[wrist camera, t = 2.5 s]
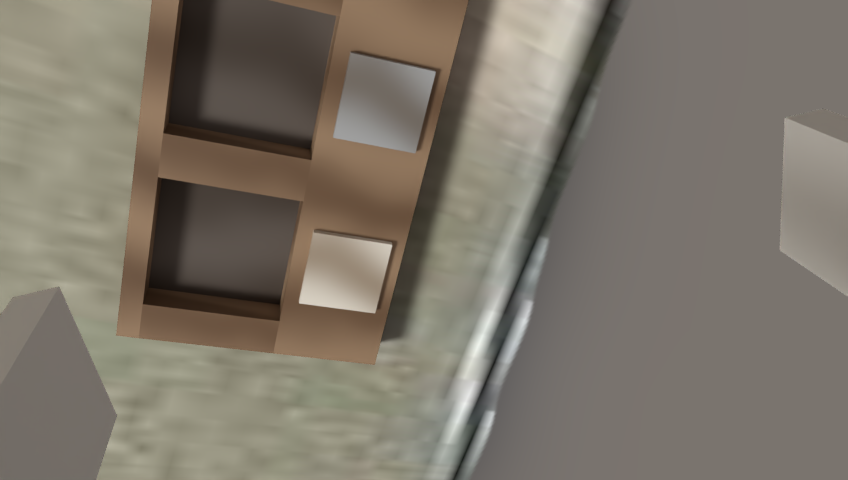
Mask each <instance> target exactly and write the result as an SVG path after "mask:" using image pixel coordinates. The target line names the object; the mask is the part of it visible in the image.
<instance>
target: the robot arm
mask: <svg viewBox="0 0 848 480" xmlns="http://www.w3.org/2000/svg"><path fill="white" fill-rule="evenodd" d="M780 251H781V252H783V253H785V254H786V255H787V256H789V257H790V258H792V259H793V260H795V261H796V262H798V263H799V264H801V265H802V266H804V267H805V268H806V269H808V270H809V271H811V272H812V273H814V274H815V275H817V276H819V277H820V278H822V279H823V280H824V281H826V282H827V283H829V284H830V285H832V286H833V287H834V288H836V289H837V290H839V291H840V292H842V293H843V294H845V295H846V296H848V117H845V116H843V115H840V114H837V113H834V112H832V111H829V110H826V109H819V110H815V111H811V112H807V113H803V114H798V115H794V116H789V117H785V125H784V152H783V178H782V204H781V231H780ZM116 417H117V414H116V412H115V410H114V408H113V405H112V403H111V401H110V399H109V396H108V394H107V392H106V390H105V388H104V385H103V383H102V381H101V379H100V376H99V374H98V372H97V370H96V368H95V365H94V363H93V361H92V359H91V356H90V354H89V352H88V350H87V347H86V345H85V343H84V341H83V339H82V336H81V334H80V332H79V330H78V327H77V325H76V323H75V321H74V319H73V316H72V314H71V312H70V310H69V307H68V305H67V303H66V301H65V298H64V296H63V294H62V292H61V290H60V287H55V288H51V289H47V290H42V291H38V292H34V293H30V294H25V295H21V296H17V297H13V298H12V299H11V301H10V302H9V304H8V305H7V306H6V308H5V309H4V311H3V312H2V314H1V315H0V480H96V478H97V475H98V472H99V469H100V466H101V463H102V460H103V457H104V453H105V450H106V447H107V444H108V441H109V438H110V435H111V432H112V429H113V426H114V423H115V420H116Z"/></svg>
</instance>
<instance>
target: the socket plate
mask: <svg viewBox="0 0 848 480" xmlns="http://www.w3.org/2000/svg"><path fill="white" fill-rule="evenodd" d="M468 1H469V0H152V5H151V14H150V24H149V33H148V42H147V52H146V61H145V70H144V80H143V89H142V99H141V108H140V117H139V127H138V136H137V145H136V155H135V164H134V174H133V183H132V192H131V202H130V211H129V220H128V230H127V239H126V249H125V258H124V267H123V277H122V286H121V295H120V305H119V314H118V324H117V333H116V335H117V336H126V337H134V338H143V339H152V340H161V341H170V342H179V343H187V344H196V345H205V346H214V347H223V348H232V349H240V350H249V351H258V352H267V353H276V354H285V355H293V356H302V357H311V358H320V359H329V360H338V361H346V362H355V363H364V364H373V365H375V361H376V357H377V354H378V350H379V346H380V342H381V338H382V334H383V330H384V326H385V323H386V319H387V315H388V311H389V307H390V303H391V299H392V295H393V292H394V288H395V284H396V280H397V276H398V272H399V268H400V264H401V261H402V257H403V253H404V249H405V245H406V241H407V237H408V234H409V230H410V226H411V222H412V218H413V214H414V210H415V206H416V203H417V199H418V195H419V191H420V187H421V183H422V179H423V175H424V172H425V168H426V164H427V160H428V156H429V152H430V148H431V144H432V141H433V137H434V133H435V129H436V125H437V121H438V117H439V114H440V110H441V106H442V102H443V98H444V94H445V90H446V86H447V83H448V79H449V75H450V71H451V67H452V63H453V59H454V55H455V52H456V48H457V44H458V40H459V36H460V32H461V28H462V24H463V21H464V17H465V13H466V9H467V5H468Z"/></svg>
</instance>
